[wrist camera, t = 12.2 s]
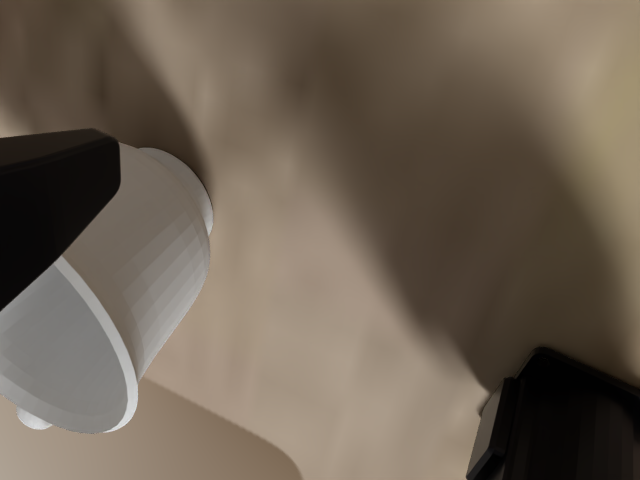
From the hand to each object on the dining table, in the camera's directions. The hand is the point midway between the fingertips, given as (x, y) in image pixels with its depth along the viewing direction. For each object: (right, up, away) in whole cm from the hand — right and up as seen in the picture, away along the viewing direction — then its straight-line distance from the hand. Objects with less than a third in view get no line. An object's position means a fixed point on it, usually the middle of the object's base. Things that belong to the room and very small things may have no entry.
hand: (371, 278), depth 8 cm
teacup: (-9, +2, +21) cm, 23 cm away
